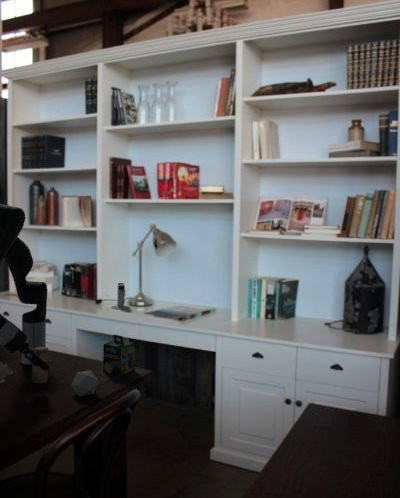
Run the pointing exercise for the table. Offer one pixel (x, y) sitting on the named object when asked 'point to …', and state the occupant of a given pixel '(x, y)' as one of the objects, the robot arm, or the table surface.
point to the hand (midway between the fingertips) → (45, 366)
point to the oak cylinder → (37, 372)
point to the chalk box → (119, 356)
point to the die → (85, 383)
